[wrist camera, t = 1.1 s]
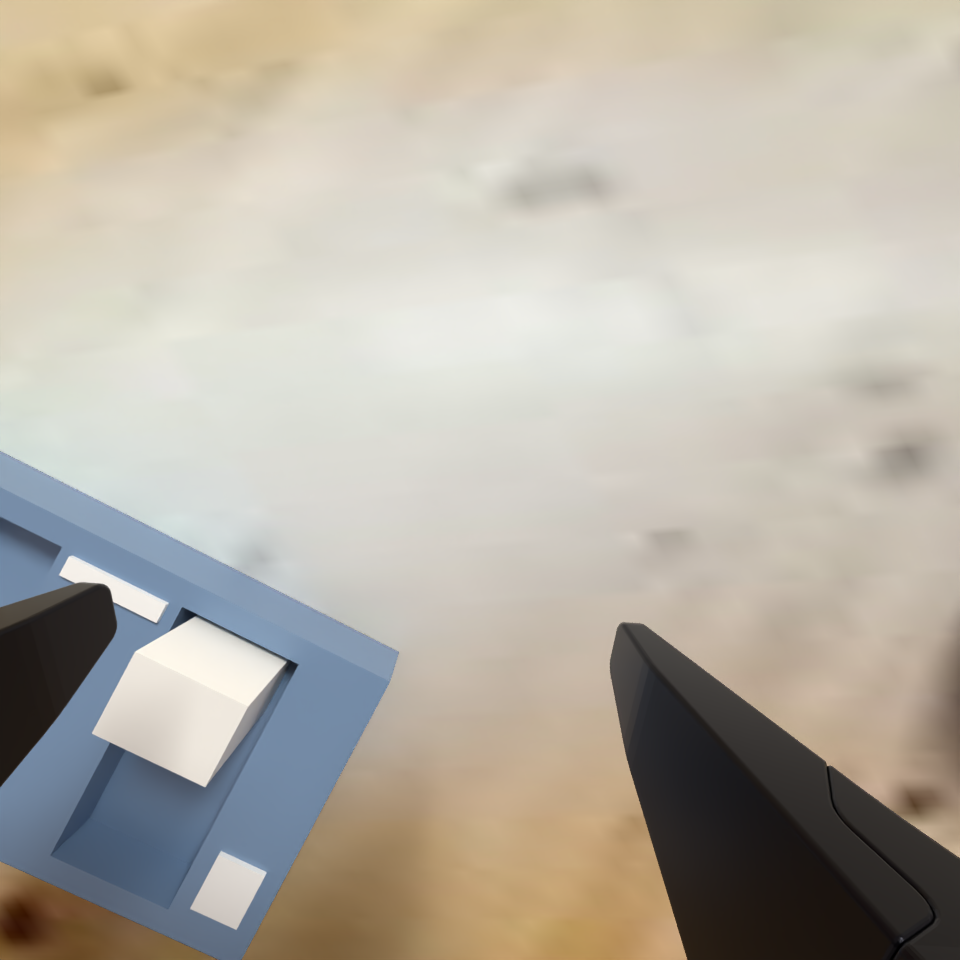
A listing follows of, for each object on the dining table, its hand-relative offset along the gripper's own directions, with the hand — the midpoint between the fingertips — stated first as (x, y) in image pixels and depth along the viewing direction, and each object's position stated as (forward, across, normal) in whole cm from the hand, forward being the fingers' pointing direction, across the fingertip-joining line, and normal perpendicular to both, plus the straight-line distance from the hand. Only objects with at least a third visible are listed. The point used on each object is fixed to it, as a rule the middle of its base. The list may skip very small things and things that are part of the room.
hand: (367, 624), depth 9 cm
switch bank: (+10, +14, +11) cm, 20 cm away
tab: (+10, +7, +10) cm, 15 cm away
